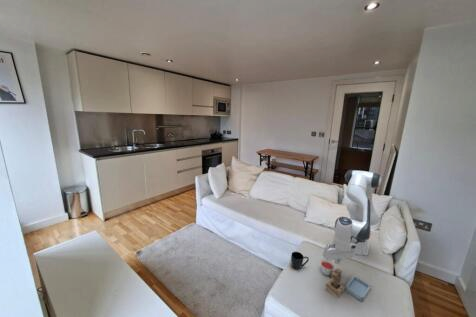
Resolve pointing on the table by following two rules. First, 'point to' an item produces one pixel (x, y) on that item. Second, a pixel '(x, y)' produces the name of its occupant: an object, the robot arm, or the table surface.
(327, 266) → the candle
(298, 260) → the mug
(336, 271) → the block
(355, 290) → the tray
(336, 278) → the dowel
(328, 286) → the socket block
